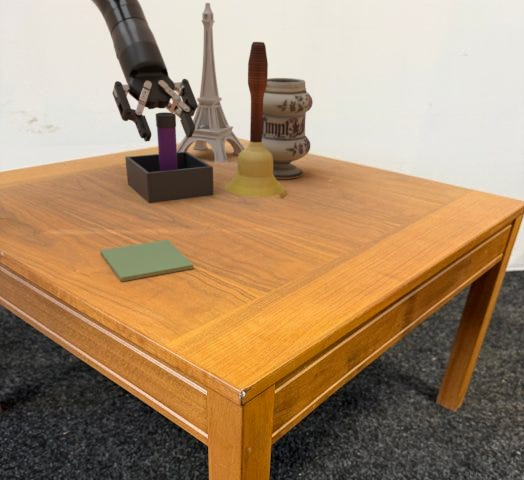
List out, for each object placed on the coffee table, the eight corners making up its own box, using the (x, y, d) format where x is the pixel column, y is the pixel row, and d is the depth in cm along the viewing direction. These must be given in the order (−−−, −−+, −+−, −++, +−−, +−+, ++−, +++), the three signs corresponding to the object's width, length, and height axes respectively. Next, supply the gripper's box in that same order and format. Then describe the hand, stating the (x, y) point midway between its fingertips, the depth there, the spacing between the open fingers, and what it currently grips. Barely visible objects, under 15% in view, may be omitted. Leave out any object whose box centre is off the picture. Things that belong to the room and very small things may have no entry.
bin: (149, 207, 95) (146, 173, 92) (128, 188, 104) (125, 156, 101) (213, 199, 100) (213, 166, 97) (188, 181, 109) (187, 151, 106)
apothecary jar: (265, 163, 123) (268, 74, 114) (315, 170, 119) (323, 79, 110) (242, 175, 114) (243, 79, 104) (296, 184, 110) (302, 85, 100)
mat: (121, 282, 70) (120, 277, 70) (100, 253, 78) (100, 249, 77) (193, 268, 74) (193, 264, 74) (167, 243, 82) (167, 239, 81)
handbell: (239, 179, 112) (240, 38, 98) (295, 187, 108) (305, 42, 94) (211, 195, 102) (208, 41, 89) (272, 205, 98) (279, 46, 85)
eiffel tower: (197, 146, 135) (193, 2, 118) (247, 153, 131) (250, 4, 114) (170, 158, 124) (162, 1, 108) (224, 165, 120) (223, 4, 104)
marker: (160, 192, 100) (155, 115, 93) (160, 186, 103) (155, 112, 96) (179, 192, 100) (175, 116, 93) (179, 186, 103) (175, 112, 96)
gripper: (102, 39, 91) (135, 126, 89) (181, 39, 97) (213, 120, 96) (96, 71, 97) (126, 153, 95) (170, 69, 104) (200, 145, 102)
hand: (170, 136), depth 96 cm, fingers open, 7 cm apart
